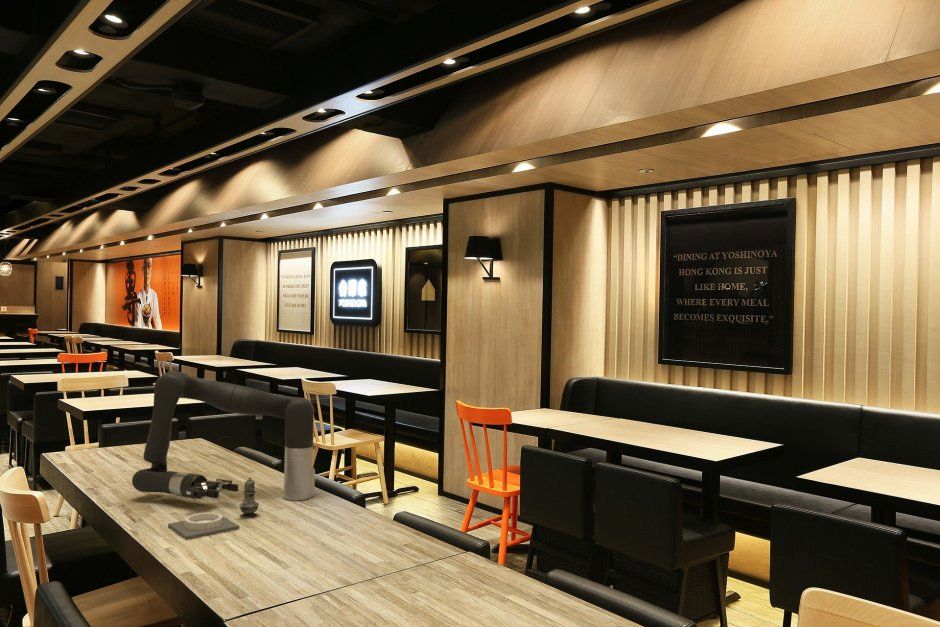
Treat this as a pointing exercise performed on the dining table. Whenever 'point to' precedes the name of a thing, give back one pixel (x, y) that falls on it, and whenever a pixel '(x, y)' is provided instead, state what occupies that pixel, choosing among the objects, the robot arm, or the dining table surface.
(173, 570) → the dining table surface
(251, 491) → the salt shaker
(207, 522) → the tray
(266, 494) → the dining table surface
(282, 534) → the dining table surface
